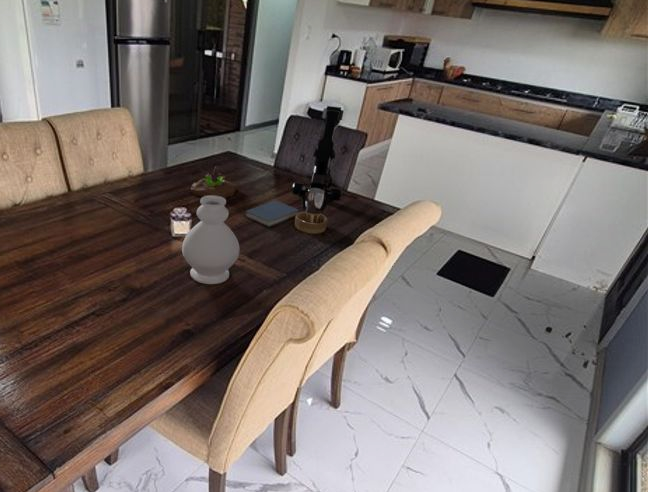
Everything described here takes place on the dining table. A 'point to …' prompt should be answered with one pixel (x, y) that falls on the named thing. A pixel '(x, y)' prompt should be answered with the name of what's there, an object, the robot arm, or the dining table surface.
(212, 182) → the plant
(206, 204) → the decorative vase
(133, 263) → the dining table surface
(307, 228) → the wooden bowl
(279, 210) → the book
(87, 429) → the dining table surface
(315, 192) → the beer glass
